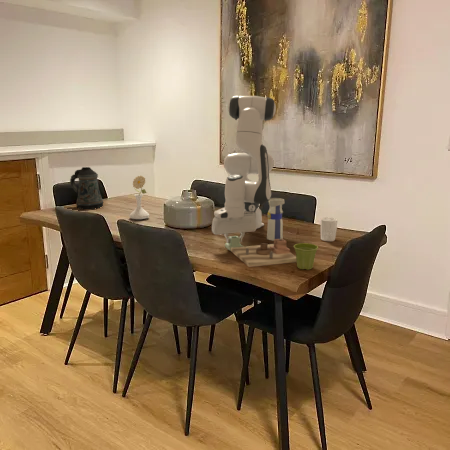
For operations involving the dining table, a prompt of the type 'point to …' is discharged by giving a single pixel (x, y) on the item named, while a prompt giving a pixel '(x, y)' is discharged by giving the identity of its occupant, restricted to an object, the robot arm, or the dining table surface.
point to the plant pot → (305, 255)
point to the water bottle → (275, 219)
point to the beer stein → (87, 189)
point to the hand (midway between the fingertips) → (234, 242)
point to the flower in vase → (139, 199)
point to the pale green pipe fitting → (233, 242)
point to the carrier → (265, 254)
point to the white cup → (328, 229)
